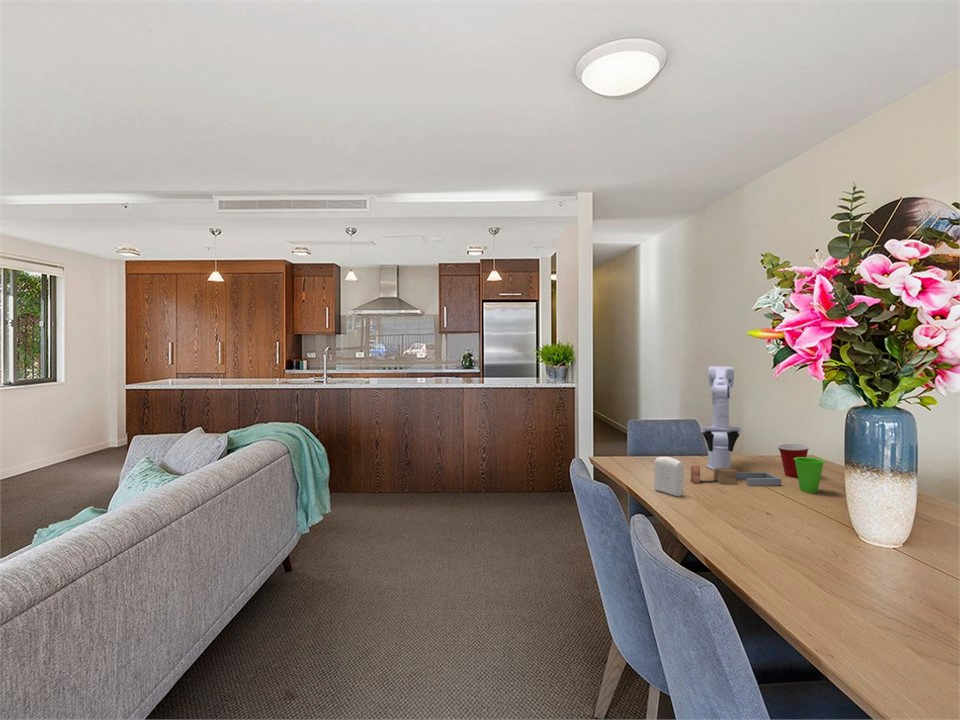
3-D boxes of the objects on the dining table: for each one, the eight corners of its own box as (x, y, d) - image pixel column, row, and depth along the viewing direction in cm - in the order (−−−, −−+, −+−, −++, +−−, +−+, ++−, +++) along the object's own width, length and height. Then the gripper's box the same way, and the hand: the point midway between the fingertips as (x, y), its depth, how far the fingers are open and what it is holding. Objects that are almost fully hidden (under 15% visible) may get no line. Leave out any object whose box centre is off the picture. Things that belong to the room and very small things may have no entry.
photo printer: (685, 495, 173) (685, 459, 173) (677, 497, 171) (677, 460, 171) (660, 488, 182) (660, 454, 182) (652, 490, 180) (652, 455, 180)
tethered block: (688, 480, 192) (688, 464, 192) (730, 480, 192) (730, 464, 191) (693, 484, 187) (693, 468, 187) (736, 484, 187) (736, 468, 186)
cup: (830, 494, 172) (830, 462, 172) (803, 494, 172) (803, 462, 172) (813, 487, 181) (814, 457, 181) (788, 487, 181) (788, 457, 181)
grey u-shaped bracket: (734, 478, 194) (734, 472, 194) (766, 478, 194) (766, 472, 194) (748, 485, 184) (748, 479, 184) (781, 485, 184) (781, 478, 184)
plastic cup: (771, 472, 203) (771, 442, 203) (799, 472, 203) (799, 442, 203) (786, 479, 192) (786, 448, 192) (815, 479, 192) (816, 448, 192)
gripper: (706, 416, 192) (706, 452, 192) (744, 417, 191) (744, 452, 191) (698, 414, 199) (698, 449, 199) (735, 414, 198) (735, 449, 198)
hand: (720, 450), depth 196 cm, fingers open, 7 cm apart
